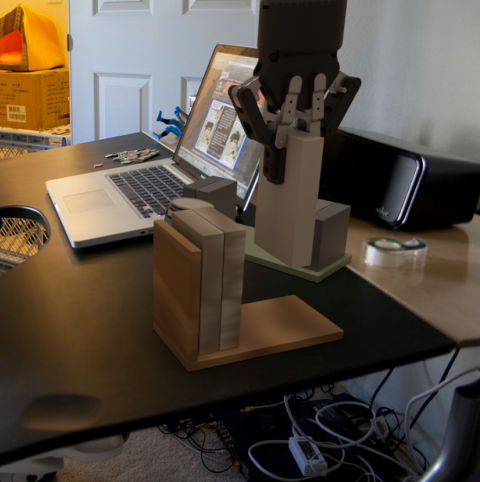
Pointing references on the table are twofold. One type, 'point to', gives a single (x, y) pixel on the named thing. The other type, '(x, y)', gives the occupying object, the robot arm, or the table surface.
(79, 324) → the table surface
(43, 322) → the table surface
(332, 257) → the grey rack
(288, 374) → the table surface
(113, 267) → the table surface
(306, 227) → the brown tall flat block
